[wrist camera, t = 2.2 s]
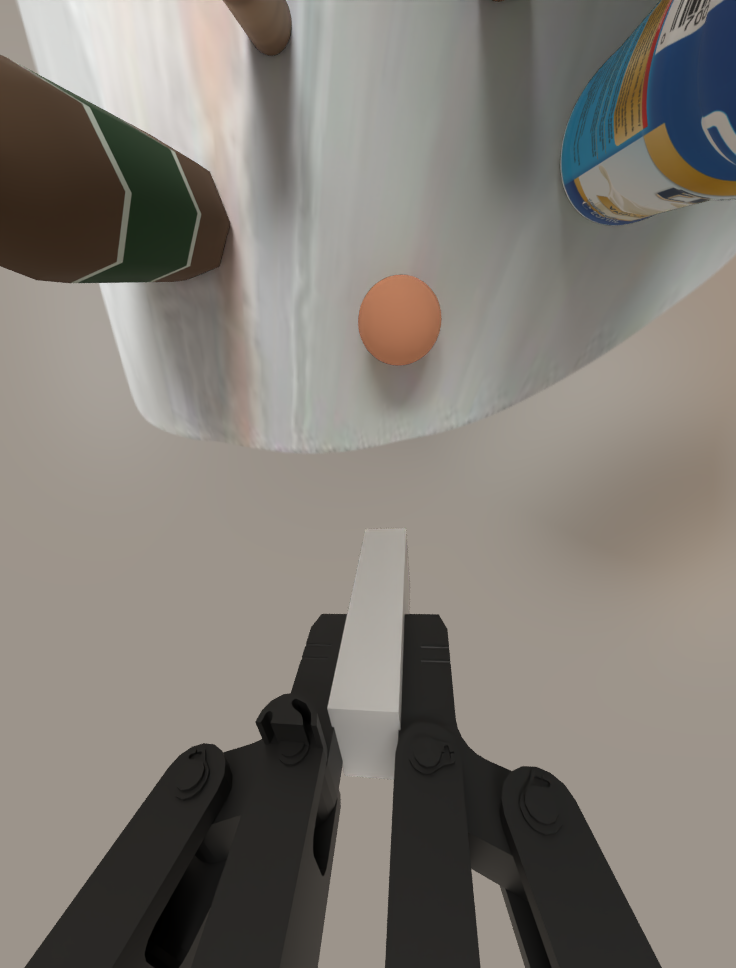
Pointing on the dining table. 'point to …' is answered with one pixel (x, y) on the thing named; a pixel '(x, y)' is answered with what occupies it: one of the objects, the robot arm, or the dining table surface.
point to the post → (263, 23)
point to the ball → (399, 320)
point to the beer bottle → (97, 193)
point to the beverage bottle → (657, 118)
